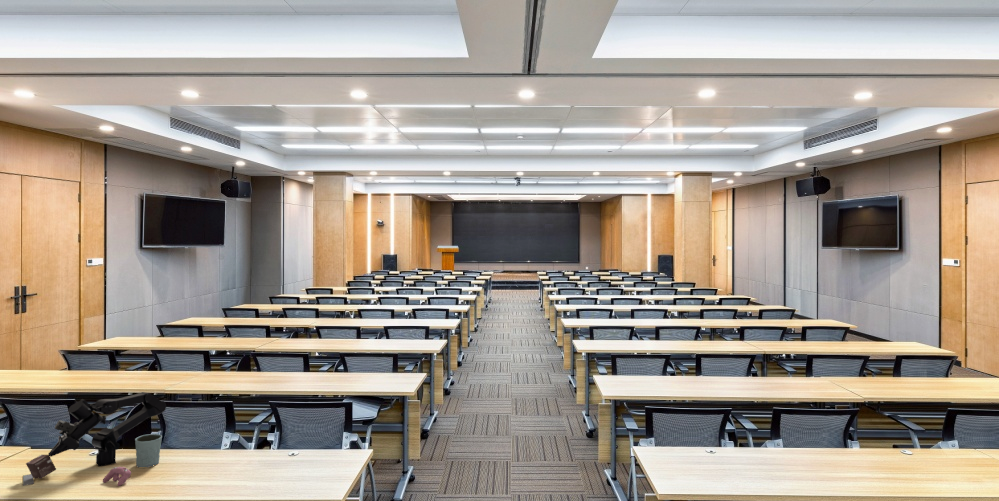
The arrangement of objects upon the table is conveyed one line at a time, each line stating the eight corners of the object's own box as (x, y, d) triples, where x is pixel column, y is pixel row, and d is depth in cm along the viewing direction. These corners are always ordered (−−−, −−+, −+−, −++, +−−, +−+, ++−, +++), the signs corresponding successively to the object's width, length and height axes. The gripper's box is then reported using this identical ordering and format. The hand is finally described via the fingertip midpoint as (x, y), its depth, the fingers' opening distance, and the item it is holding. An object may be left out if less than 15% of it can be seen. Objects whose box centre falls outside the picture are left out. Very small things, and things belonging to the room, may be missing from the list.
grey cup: (155, 458, 253) (156, 432, 253) (165, 463, 247) (166, 437, 247) (130, 465, 245) (131, 437, 245) (140, 470, 239) (140, 442, 239)
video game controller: (127, 487, 225) (135, 469, 228) (118, 486, 222) (126, 467, 225) (110, 483, 229) (117, 465, 232) (100, 482, 225) (108, 464, 228)
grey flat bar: (33, 474, 232) (33, 473, 232) (33, 483, 223) (33, 483, 223) (23, 476, 230) (23, 475, 230) (23, 485, 221) (23, 485, 221)
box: (40, 479, 225) (32, 464, 223) (33, 478, 228) (25, 463, 226) (57, 469, 230) (49, 454, 229) (49, 468, 233) (41, 454, 231)
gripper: (68, 409, 242) (32, 438, 233) (72, 417, 228) (34, 448, 219) (88, 425, 246) (53, 454, 238) (93, 434, 232) (57, 465, 224)
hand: (49, 455), depth 230 cm, fingers closed
